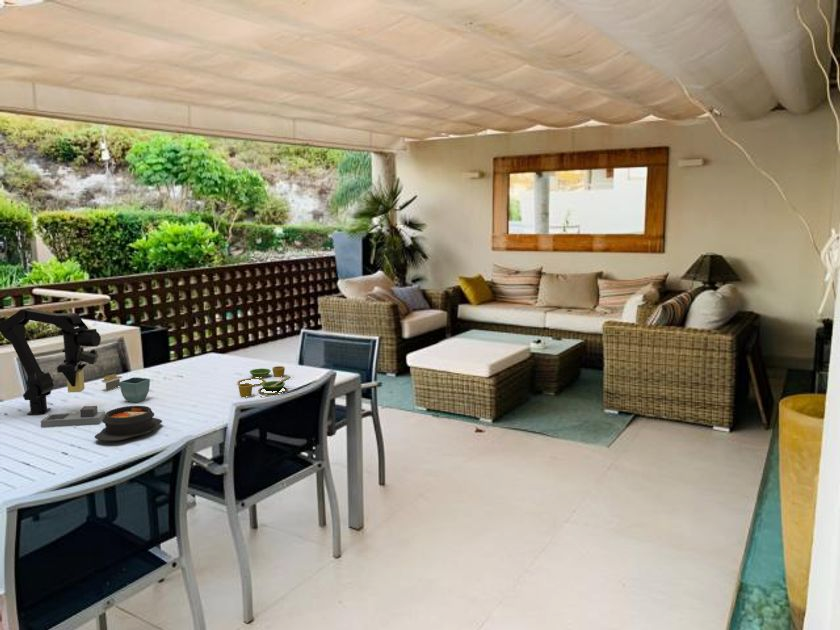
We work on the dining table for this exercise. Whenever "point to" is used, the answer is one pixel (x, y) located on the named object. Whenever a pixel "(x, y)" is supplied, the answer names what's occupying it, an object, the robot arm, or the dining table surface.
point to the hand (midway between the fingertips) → (75, 384)
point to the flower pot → (135, 389)
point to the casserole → (127, 423)
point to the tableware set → (268, 386)
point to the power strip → (74, 418)
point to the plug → (77, 383)
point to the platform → (111, 381)
